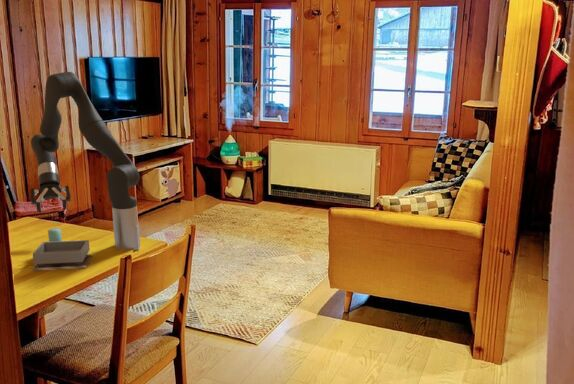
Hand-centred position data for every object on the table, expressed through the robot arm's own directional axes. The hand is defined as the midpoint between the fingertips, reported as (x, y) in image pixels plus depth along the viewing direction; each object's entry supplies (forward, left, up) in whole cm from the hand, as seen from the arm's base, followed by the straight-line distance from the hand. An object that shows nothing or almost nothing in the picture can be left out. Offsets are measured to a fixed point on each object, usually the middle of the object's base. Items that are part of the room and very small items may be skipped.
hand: (52, 211), depth 204 cm
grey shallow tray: (-8, +22, -13) cm, 27 cm away
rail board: (-8, +22, -14) cm, 27 cm away
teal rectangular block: (-3, +11, -14) cm, 18 cm away
